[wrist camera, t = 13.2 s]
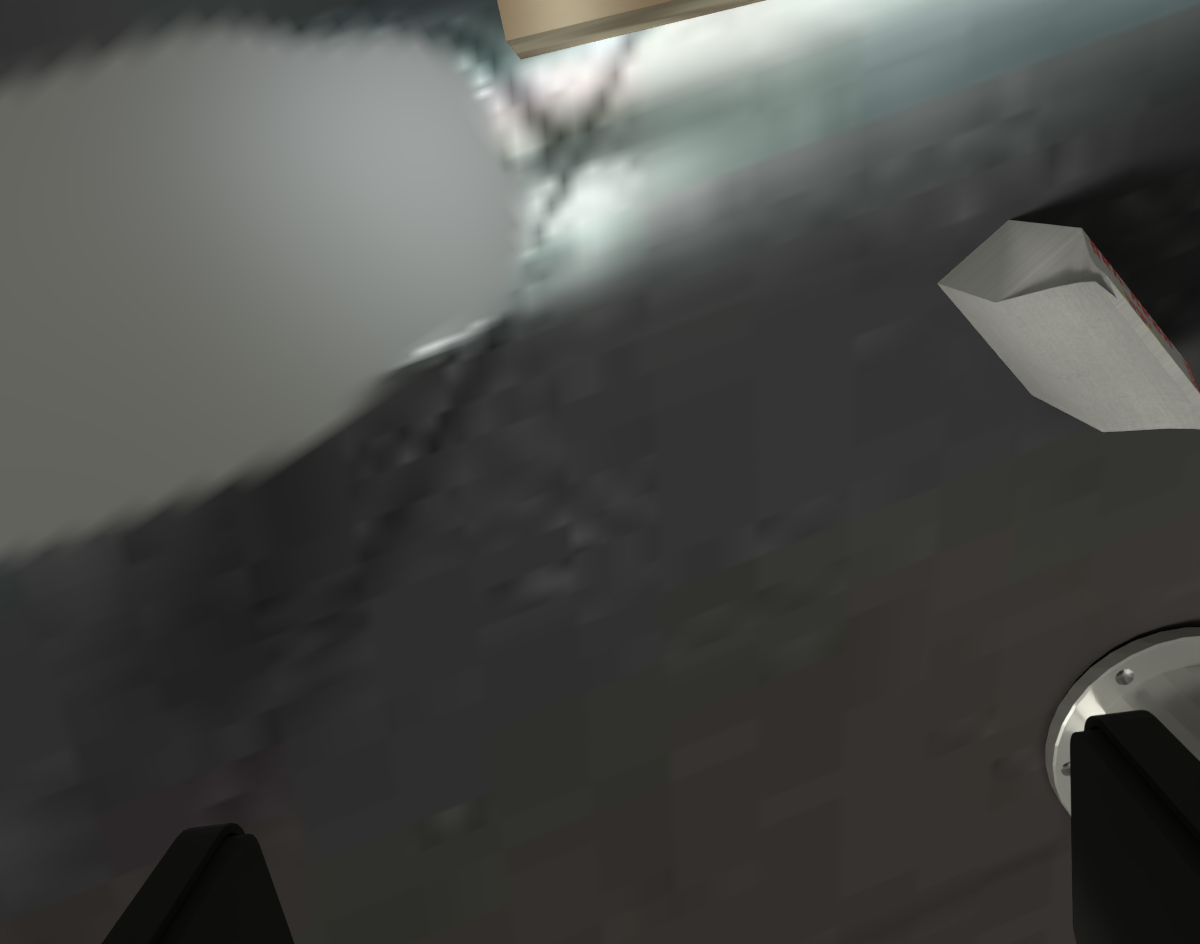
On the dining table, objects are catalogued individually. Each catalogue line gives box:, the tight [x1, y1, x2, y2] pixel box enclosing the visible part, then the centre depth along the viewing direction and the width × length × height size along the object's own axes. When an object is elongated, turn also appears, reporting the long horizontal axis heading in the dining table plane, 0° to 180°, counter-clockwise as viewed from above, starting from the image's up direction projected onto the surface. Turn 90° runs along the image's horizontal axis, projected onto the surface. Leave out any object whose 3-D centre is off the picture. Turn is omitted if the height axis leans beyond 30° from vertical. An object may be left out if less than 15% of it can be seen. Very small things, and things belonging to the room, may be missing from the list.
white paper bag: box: [937, 220, 1200, 432], centre depth 33 cm, size 4×7×10 cm, turn 45°
